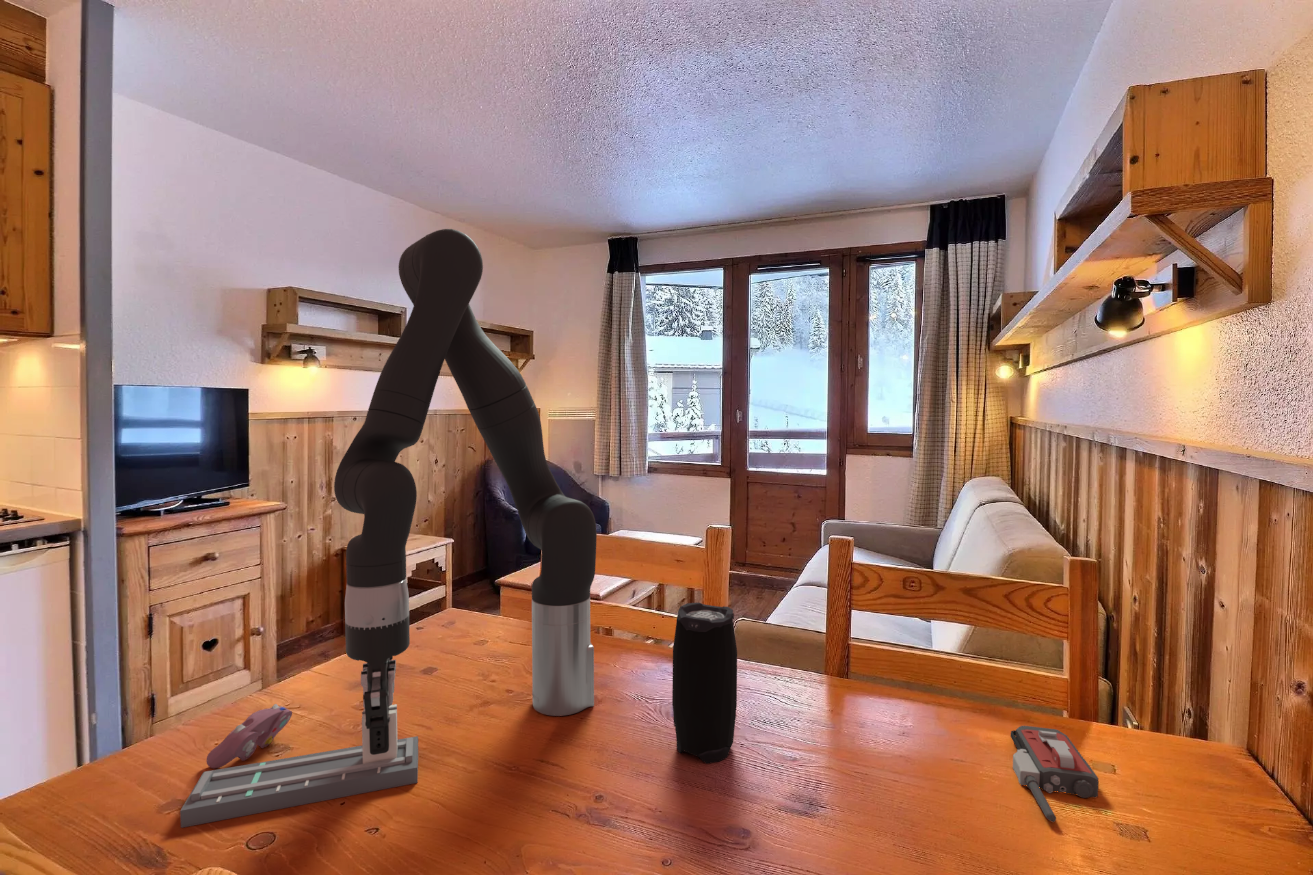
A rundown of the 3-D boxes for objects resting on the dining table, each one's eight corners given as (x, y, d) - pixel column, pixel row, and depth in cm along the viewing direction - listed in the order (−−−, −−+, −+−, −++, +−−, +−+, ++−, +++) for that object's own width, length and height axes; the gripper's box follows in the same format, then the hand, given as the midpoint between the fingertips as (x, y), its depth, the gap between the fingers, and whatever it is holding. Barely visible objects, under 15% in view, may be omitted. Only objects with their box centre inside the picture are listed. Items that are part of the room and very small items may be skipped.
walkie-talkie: (994, 739, 91) (1041, 829, 72) (995, 709, 91) (1042, 792, 72) (1063, 747, 89) (1130, 843, 70) (1064, 717, 89) (1131, 804, 69)
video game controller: (226, 784, 82) (245, 740, 81) (199, 765, 83) (218, 721, 82) (285, 744, 91) (303, 704, 91) (261, 728, 92) (278, 688, 91)
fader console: (418, 750, 87) (417, 730, 87) (417, 782, 80) (417, 761, 80) (204, 787, 79) (203, 765, 78) (180, 827, 71) (180, 803, 71)
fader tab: (398, 747, 84) (397, 702, 83) (397, 757, 81) (396, 711, 81) (364, 753, 82) (363, 707, 82) (362, 764, 80) (361, 716, 80)
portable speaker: (744, 739, 90) (746, 605, 89) (720, 773, 82) (722, 626, 81) (689, 725, 94) (690, 596, 93) (661, 756, 86) (662, 615, 85)
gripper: (407, 629, 76) (410, 769, 76) (410, 596, 89) (412, 716, 90) (338, 637, 73) (341, 782, 74) (351, 602, 86) (354, 725, 87)
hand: (380, 745), depth 82 cm, fingers closed on fader tab, 2 cm apart
